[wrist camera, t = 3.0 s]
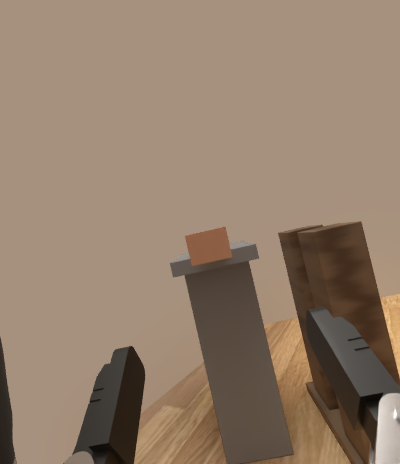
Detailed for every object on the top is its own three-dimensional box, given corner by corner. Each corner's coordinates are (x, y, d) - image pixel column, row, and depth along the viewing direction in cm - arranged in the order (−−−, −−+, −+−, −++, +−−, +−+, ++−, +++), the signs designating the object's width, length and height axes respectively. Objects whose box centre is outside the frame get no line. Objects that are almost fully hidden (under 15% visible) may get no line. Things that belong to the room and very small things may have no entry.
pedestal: (222, 494, 34) (170, 263, 34) (219, 410, 49) (183, 254, 50) (310, 479, 33) (255, 243, 34) (279, 399, 49) (242, 240, 50)
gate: (376, 504, 29) (311, 233, 29) (307, 390, 50) (270, 234, 50) (447, 492, 28) (380, 218, 29) (347, 382, 49) (310, 225, 50)
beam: (232, 257, 24) (225, 226, 24) (191, 266, 24) (185, 236, 24) (222, 245, 50) (219, 230, 50) (203, 249, 50) (199, 235, 50)
